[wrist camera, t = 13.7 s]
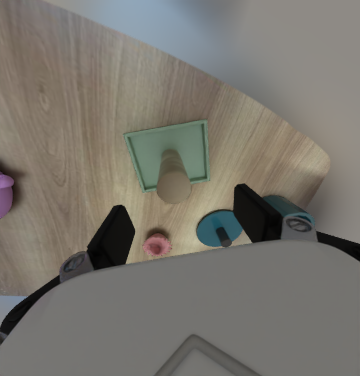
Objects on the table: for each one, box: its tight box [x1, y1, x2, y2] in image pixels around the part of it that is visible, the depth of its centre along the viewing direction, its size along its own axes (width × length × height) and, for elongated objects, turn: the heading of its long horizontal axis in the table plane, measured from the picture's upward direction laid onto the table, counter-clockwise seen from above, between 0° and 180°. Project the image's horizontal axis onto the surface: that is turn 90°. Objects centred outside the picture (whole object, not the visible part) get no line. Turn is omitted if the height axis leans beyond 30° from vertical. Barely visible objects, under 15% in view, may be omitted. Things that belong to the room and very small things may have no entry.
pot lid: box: [197, 211, 243, 247], centre depth 36 cm, size 14×14×6 cm
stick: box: [157, 149, 192, 204], centre depth 21 cm, size 4×4×14 cm
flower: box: [142, 233, 172, 257], centre depth 35 cm, size 8×8×6 cm
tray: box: [123, 119, 210, 193], centre depth 27 cm, size 15×12×2 cm
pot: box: [263, 195, 315, 227], centre depth 34 cm, size 13×13×8 cm
